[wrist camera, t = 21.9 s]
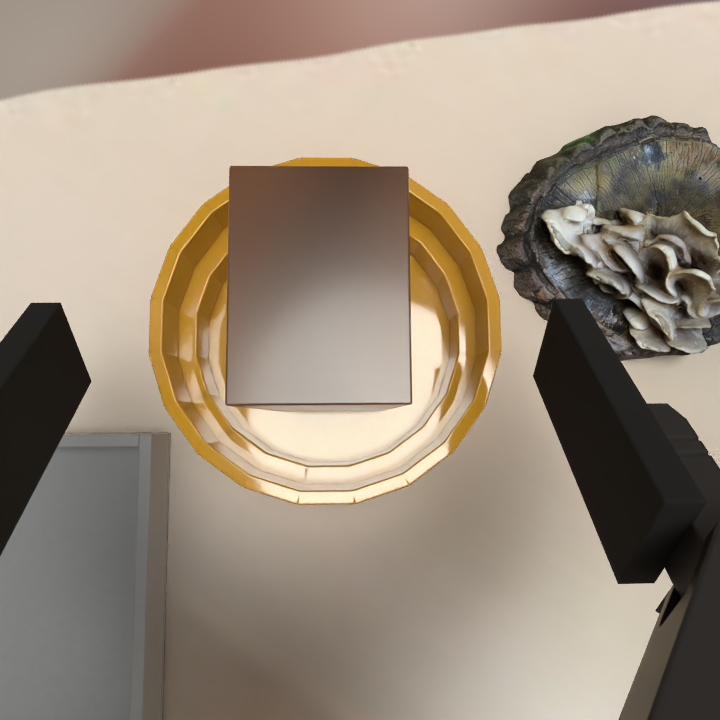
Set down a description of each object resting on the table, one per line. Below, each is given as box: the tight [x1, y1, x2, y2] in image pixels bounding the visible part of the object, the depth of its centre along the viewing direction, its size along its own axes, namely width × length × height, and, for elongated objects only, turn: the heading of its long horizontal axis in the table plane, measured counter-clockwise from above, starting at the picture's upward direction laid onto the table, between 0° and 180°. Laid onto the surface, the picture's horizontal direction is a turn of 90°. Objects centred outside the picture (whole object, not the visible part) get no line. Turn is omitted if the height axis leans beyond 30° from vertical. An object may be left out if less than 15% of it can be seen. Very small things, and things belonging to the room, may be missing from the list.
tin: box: [0, 433, 171, 720], centre depth 22 cm, size 11×15×2 cm
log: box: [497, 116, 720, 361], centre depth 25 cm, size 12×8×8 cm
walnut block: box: [225, 166, 412, 412], centre depth 19 cm, size 4×6×11 cm
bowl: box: [149, 158, 501, 505], centre depth 23 cm, size 13×13×4 cm
